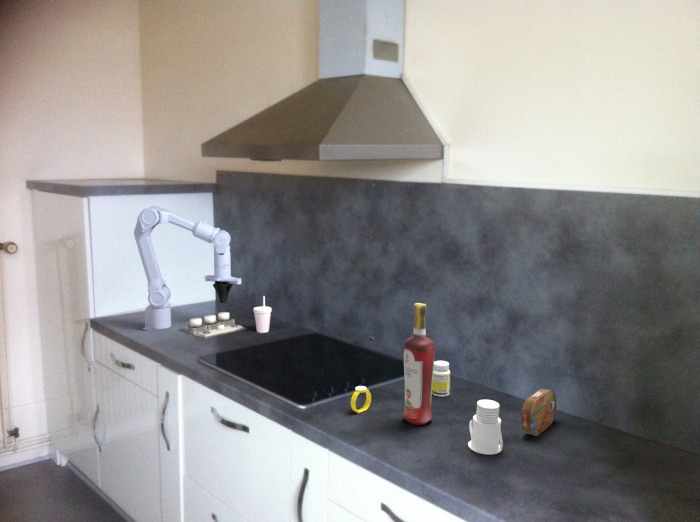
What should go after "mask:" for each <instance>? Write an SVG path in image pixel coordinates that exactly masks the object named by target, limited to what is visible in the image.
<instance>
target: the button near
mask: <svg viewBox="0 0 700 522" xmlns="http://www.w3.org/2000/svg"><path fill="white" fill-rule="evenodd" d="M202 322H203V319H202V318H201V317H192V318H190V319H189V325H190V326H191V327H199V326H202Z"/></svg>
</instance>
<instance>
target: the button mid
mask: <svg viewBox="0 0 700 522" xmlns="http://www.w3.org/2000/svg"><path fill="white" fill-rule="evenodd" d="M216 319H217V316H216V315H214V314H207V315H204V317H203V322H204V323H206V324H212V323H216Z"/></svg>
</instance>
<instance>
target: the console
mask: <svg viewBox="0 0 700 522" xmlns="http://www.w3.org/2000/svg"><path fill="white" fill-rule="evenodd" d="M217 325H224V327H227V326H231V325H235V319H234V318H230V317H229V320H225V321H221V320H218V318H216V323H212V324H206V323H204V321H202V326H199V327H191V326H190V324H188V325H185V326H184V329H183V330H181V332H183V333H186V334H190V335H193V336H196V337H198V338H199V337H200V338H204V339H210V338H213V337H217V336H221V335H226V334H229V333H234V332H238V331H241V330H242V331H243V330H247V329H248V328H247V327H244V326H243V328H240V329H236V330H232V331H228V332H224V333H220V334H216V335H211V336H207V337H204V336H201V335H198V333H201V332H204V331H209V330H214V329H217Z"/></svg>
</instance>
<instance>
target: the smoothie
mask: <svg viewBox="0 0 700 522" xmlns="http://www.w3.org/2000/svg"><path fill="white" fill-rule="evenodd" d="M262 302H263V303H262V306H255V307H253V309H252V310H253V311H252V312H253V313H254V321H255V327H256V332H257V333H259V334H264V333H268V332H269V330H270V324H271V323H270V322H271V313H272V312H273V311H272V307H271V306H268V305H267V306H266V297H265V295H263V296H262Z"/></svg>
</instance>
